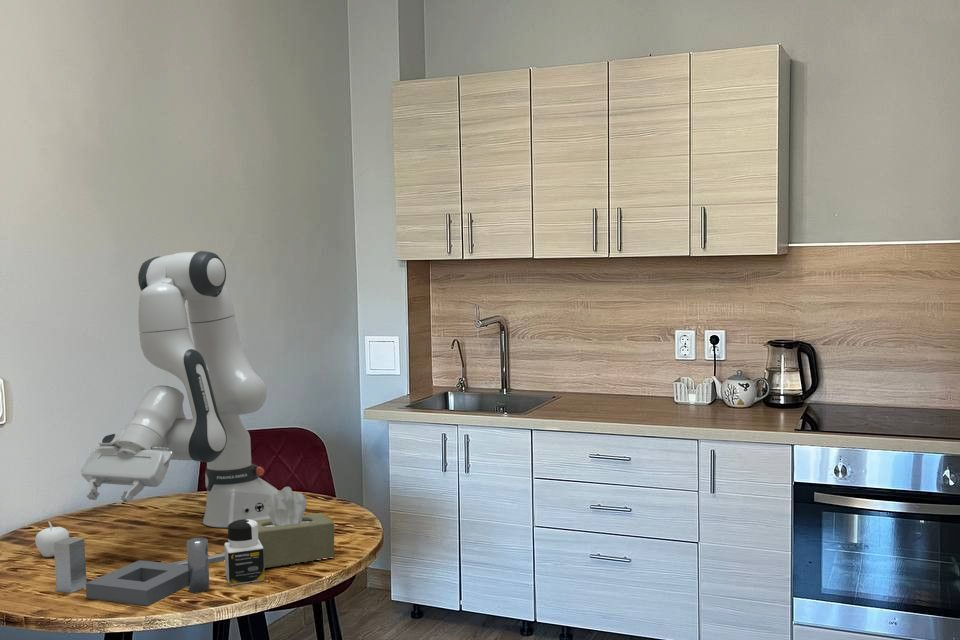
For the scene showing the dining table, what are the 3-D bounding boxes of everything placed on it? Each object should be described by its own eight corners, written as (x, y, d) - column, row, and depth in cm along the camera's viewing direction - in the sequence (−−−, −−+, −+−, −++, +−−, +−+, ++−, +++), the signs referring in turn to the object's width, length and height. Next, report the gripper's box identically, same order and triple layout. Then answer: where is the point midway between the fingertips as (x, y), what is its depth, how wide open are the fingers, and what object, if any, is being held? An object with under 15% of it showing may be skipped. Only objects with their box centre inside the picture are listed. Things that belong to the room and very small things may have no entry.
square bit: (71, 584, 187) (69, 537, 187) (86, 586, 186) (84, 538, 185) (56, 591, 184) (53, 542, 183) (71, 593, 182) (69, 544, 182)
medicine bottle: (229, 586, 184) (226, 527, 183) (225, 575, 190) (223, 519, 190) (265, 581, 186) (262, 523, 186) (260, 570, 193) (257, 515, 192)
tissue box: (323, 547, 209) (322, 478, 208) (335, 558, 200) (335, 487, 199) (240, 558, 201) (239, 487, 200) (249, 570, 192) (248, 496, 191)
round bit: (207, 584, 185) (205, 536, 184) (211, 590, 181) (209, 541, 181) (187, 588, 183) (185, 539, 183) (190, 594, 180) (188, 544, 179)
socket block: (139, 573, 193) (139, 560, 193) (197, 580, 188) (197, 566, 187) (86, 598, 179) (85, 583, 179) (147, 606, 174) (146, 590, 173)
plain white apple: (28, 558, 206) (27, 523, 206) (53, 549, 213) (51, 515, 213) (52, 561, 204) (50, 525, 204) (76, 551, 211) (74, 517, 210)
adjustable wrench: (154, 576, 193) (154, 568, 193) (151, 568, 199) (151, 560, 198) (272, 556, 204) (271, 549, 204) (265, 549, 209) (265, 542, 209)
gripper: (183, 456, 201) (154, 510, 193) (110, 452, 209) (80, 504, 200) (168, 439, 197) (138, 494, 188) (95, 436, 204) (63, 489, 196)
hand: (107, 499), depth 194 cm, fingers open, 8 cm apart
